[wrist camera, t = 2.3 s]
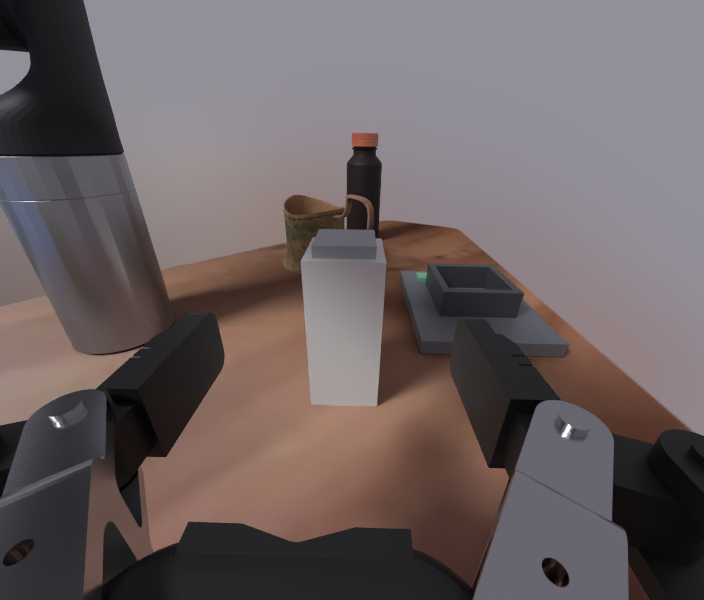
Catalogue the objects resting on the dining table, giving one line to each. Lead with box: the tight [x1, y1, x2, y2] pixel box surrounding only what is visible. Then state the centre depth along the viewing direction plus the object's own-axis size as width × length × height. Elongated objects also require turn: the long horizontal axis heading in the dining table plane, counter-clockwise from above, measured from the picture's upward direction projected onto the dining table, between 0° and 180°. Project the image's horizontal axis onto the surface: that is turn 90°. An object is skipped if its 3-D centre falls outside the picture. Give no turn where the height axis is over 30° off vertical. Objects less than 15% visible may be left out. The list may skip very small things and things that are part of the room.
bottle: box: [347, 133, 382, 238], centre depth 60 cm, size 7×7×20 cm
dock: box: [400, 264, 569, 357], centre depth 36 cm, size 18×14×4 cm
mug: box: [283, 195, 374, 274], centre depth 47 cm, size 12×18×12 cm, turn 47°
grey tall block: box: [301, 229, 386, 406], centre depth 23 cm, size 5×5×13 cm
